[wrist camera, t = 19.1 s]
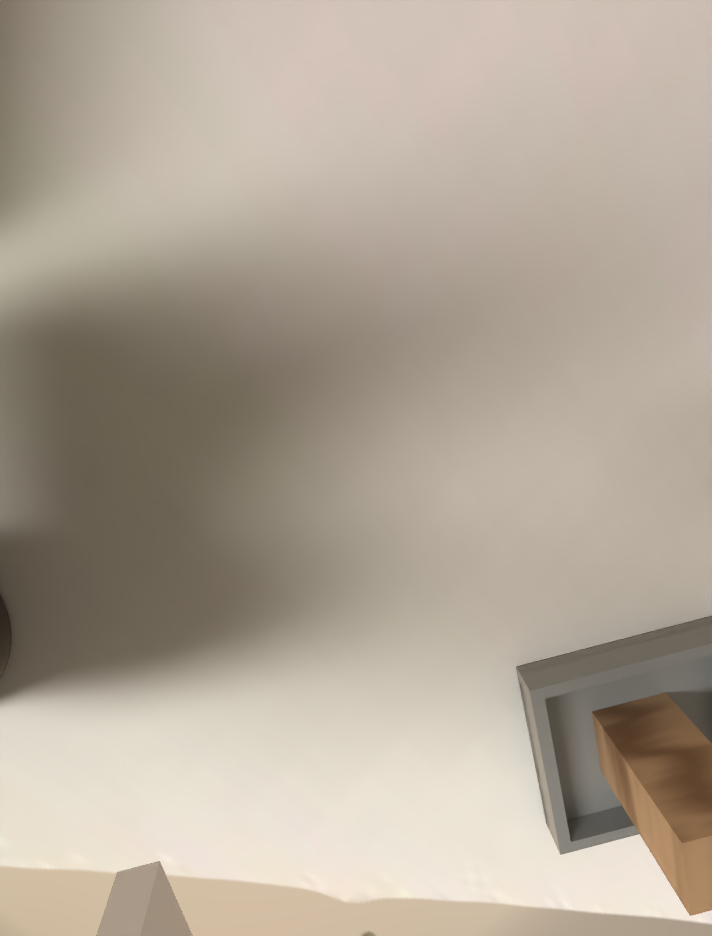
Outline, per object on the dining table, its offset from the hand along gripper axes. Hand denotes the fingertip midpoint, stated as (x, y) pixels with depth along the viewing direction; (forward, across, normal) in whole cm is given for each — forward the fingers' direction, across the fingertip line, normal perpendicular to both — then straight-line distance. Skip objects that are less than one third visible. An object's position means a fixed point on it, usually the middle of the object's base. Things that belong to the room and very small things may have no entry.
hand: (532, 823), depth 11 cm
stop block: (+31, +15, -29) cm, 45 cm away
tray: (+32, +15, -29) cm, 46 cm away
